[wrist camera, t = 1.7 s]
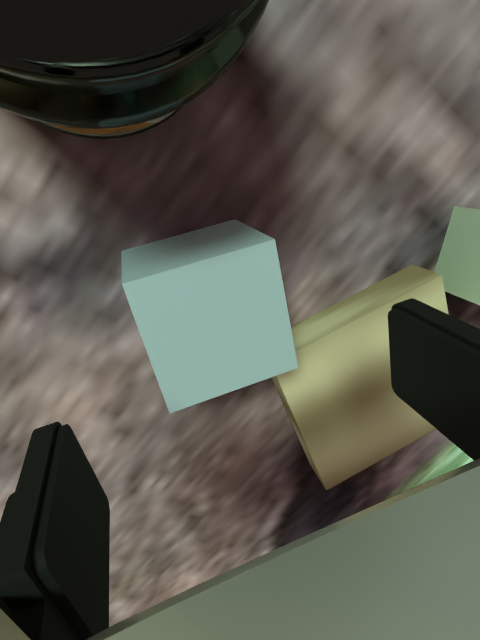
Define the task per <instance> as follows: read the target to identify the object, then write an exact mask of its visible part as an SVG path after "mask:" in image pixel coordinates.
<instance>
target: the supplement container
mask: <svg viewBox="0 0 480 640" xmlns="http://www.w3.org/2000/svg"><path fill="white" fill-rule="evenodd" d="M268 1H269V0H0V108H1V109H3V110H6V111H9V112H11V113H14V114H17V115H20V116H23V117H25V118H28V119H31V120H33V121H35V122H37V123H39V124H41V125H43V126H46V127H48V128H50V129H53V130H56V131H59V132H61V133H65V134H69V135H73V136H77V137H83V138H90V139H117V138H124V137H129V136H133V135H136V134H140V133H143V132H145V131H148V130H150V129H152V128H154V127H156V126H158V125H160V124H161V123H163V122H165V121H166V120H168V119H169V118H170V117H172V116H173V115H174V114H175V113H177V112H178V111H179V110H180V109H181V108H182V107H183V106H184V105H186V104H187V103H189V102H191V101H192V100H194V99H195V98H196V97H198V96H199V95H200V94H201V93H203V92H204V91H205V90H207V89H208V88H209V87H210V86H212V85H213V84H214V83H215V82H216V81H217V80H218V79H219V78H220V77H221V76H222V75H223V74H224V73H225V72H226V71H227V69H228V68H229V67H230V66H231V65H232V63H233V62H234V61H235V60H236V58H237V57H238V56H239V55H240V53H241V52H242V50H243V49H244V47H245V46H246V44H247V43H248V41H249V40H250V38H251V36H252V35H253V33H254V31H255V29H256V27H257V25H258V23H259V21H260V19H261V17H262V15H263V13H264V11H265V8H266V6H267V3H268Z"/></svg>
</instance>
